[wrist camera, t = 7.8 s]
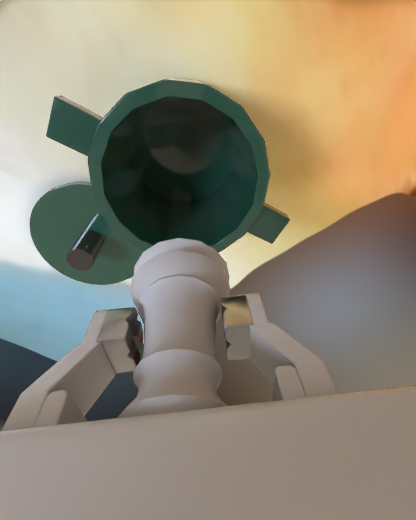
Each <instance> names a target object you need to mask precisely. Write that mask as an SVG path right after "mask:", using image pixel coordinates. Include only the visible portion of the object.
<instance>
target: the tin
mask: <svg viewBox="0 0 416 520" xmlns="http://www.w3.org/2000/svg"><path fill="white" fill-rule="evenodd" d="M46 136H47V137H49V138H51V139H53V140H55V141H57V142H59V143H61V144H63V145H65V146H67V147H70V148H72V149H74V150H76V151H78V152H80V153H82V154H84V155H86V156H89V157H88V165H89V173H90V180H91V188H92V195H93V198H94V200H95V201H96V203H97V205H98V207H99V208H100V210H101V212H102V214H103V215H104V217H105V219H106V221H107V223H108V224H109V225H110V226H111V227H112V228H113V229H114V230H115V231H116V232H118V233H119V234H120V235H121V236H122V237H123V238H125V239H126V240H127V241H128V242H129V243H130V244H132V245H133V246H134V247H136V248H139V249H141V250H144V251H146V250H147V249H149V248H151V247H152V246H154V245H155V244H157V243H158V242H162V241H166V240H171V239H176V238H183V239H190V240H197V241H200V242H202V243H204V244H206V245H208V246H210V247H212V248H213V249H215V250H216V251H217V252H220V251H222V250H224V249H225V248H227V247H228V246H229V245H231V244H232V243H234V242H235V241H236V240H238V239H239V238H241V237H242V236H244V235H245V234H246V232H248V233H250V234H253V235H255V236H257V237H259V238H261V239H263V240H265V241H267V242H269V243H273V242H274V241H275V239H276V238H277V237H278V235H279V234H280V233H281V231H282V230H283V229H284V227H285V226H286V225H287V223H288V222H289V221H290V218H289V217H288V216H287V214H285V213H283V212H282V211H280V210H278V209H276V208H274V207H272V206H270V205H268V204H266V203H264V201H265V197H266V192H267V188H268V183H269V179H270V170H269V165H268V159H267V153H266V147H265V141H264V139H263V137H262V136H261V134H260V133H259V131H258V130H257V128H256V126H255V125H254V123H253V122H252V120H251V119H250V117H249V116H248V114H247V113H246V111H245V110H244V108H243V107H242V106H241V105H239V104H238V103H236V102H235V101H233V100H231V99H230V98H228V97H227V96H225V95H224V94H222V93H220V92H219V91H217V90H216V89H214V88H213V87H211V86H209V85H208V84H206V83H204V82H202V81H198V80H189V79H181V78H169V79H164V80H161V81H158V82H156V83H153V84H150V85H147V86H145V87H142V88H139V89H137V90H134V91H131V92H128V93H126V94H125V95H124V96H123V97H122V98H121V99H120V100H119V101H118V102H117V103H116V105H115V106H114V107H113V108H112V109H111V110H110V111H109V112H108V113H107V114H106V115H105V117H104V118H103V117H101V116H99V115H97V114H95V113H93V112H91V111H90V110H88V109H86V108H84V107H82V106H80V105H78V104H76V103H74V102H72V101H71V100H69V99H67V98H65V97H63V96H55V97H54V101H53V105H52V110H51V115H50V120H49V125H48V130H47V134H46Z"/></svg>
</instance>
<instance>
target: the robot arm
mask: <svg viewBox="0 0 416 520" xmlns="http://www.w3.org/2000/svg"><path fill="white" fill-rule="evenodd" d="M221 308H222V318H223V328H224V335H225V342H226V349H227V356H228V360H237V359H248V358H250V360H251V361H252V362H253V363H254V364H255V365H256V366H257V368H258V369H259V370H260V371H261V372H262V373H263V374H264V375H265V376H266V378H267V379H268V380H269V381H270V382H271V383H272V384H273V385H274V391H273V401H269V402H260V403H251V404H242V405H233V406H224V407H215V408H206V409H197V410H188V411H180V412H170V413H161V414H152V415H143V416H134V417H125V418H116V419H106V420H97V421H88V422H87V420H86V419H85V417H84V416H85V414H86V413H87V412H88V411H89V409H90V408H91V407H92V405H93V404H94V402H95V401H96V400H97V399H98V397H99V396H100V395H101V393H102V392H103V391H104V389H105V388H106V387H107V385H108V384H109V383H110V382H111V380H112V379H113V378H114V376H115V375H116V374H115V373H122V372H130V371H134V369H135V368H136V366H137V365H138V364H139V360H140V353H139V348H141V346H142V343H143V330H142V325H141V322H139V321H138V320H137V316H138V313H137V311H136V308H134V307H133V308H122V309H111V310H103V311H96V312H95V313H94V314H93V317H92V319H91V322H90V324H89V327H88V329H87V332H86V334H85V337H84V339H83V342H82V344H78V345H76V346H75V347H74V348H73V349H72V350H71V351H70V352H68V353H67V354H66V355H65V356H64V357H63V358H62V359H60V360H59V361H58V362H57V363H56V364H55V365H53V367H51V368H50V369H49V370H48V371H47V372H46V373H44V374H43V375H42V376H41V377H40V378H38V379H37V380H36V381H35V382H34V383H33V384H32V385H30V386H29V387H28V388H27V389H26V390H25V391H24V392H22V393H21V395H20V397H19V398H18V400H17V402H16V404H15V406H14V408H13V410H12V412H11V413H10V415H9V417H8V419H7V421H6V423H5V425H4V427H3V429H2V430H1V431H0V520H416V385H414V386H405V387H395V388H387V389H378V390H368V391H359V392H351V393H341V394H339V393H338V391H337V389H336V387H335V385H334V383H333V380H332V378H331V376H330V374H329V372H328V370H327V368H326V366H325V363H324V361H323V360H322V359H320V358H319V357H318V356H316V355H315V354H314V353H312V352H311V351H310V350H308V349H307V348H306V347H304V346H303V345H302V344H300V343H299V342H298V341H296V340H295V339H294V338H292V337H291V336H290V335H288V334H287V333H286V332H284V331H283V330H282V329H280V328H279V327H278V326H276V325H275V324H274V323H269V322H268V319H267V317H266V313H265V311H264V307H263V304H262V301H261V298H260V295H259V294H258V293H252V294H245V295H238V296H229V297H221Z"/></svg>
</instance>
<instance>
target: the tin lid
mask: <svg viewBox="0 0 416 520" xmlns="http://www.w3.org/2000/svg"><path fill="white" fill-rule="evenodd" d="M30 232H31V236H32V239H33V242H34V244H35V246H36V248H37V250H38V251H39V253H40V254H41V256H42V257H43V258H44V259H45V260H46V261H47V262H48V263H49V264H50V265H51V266H52V267H53V268H55V269H56V270H57V271H59V272H60V273H62V274H64V275H66V276H68V277H70V278H72V279H75V280H77V281H80V282H84V283H89V284H97V285H106V284H113V283H118V282H121V281H124V280H126V279H128V278H130V277H131V276H133V275H134V266H135V265H136V263H137V261H138V260H139V258H140V257H141V255H142V253H143V252H144V250H141V249H139V248H136V247H134V246H133V245H132V244H130V243H129V242H128V241H127V240H126V239H125V238H123V237H122V236H121V235H120V234H119V233H118V232H116V231H115V230H114V229H113V228H112V227H111V226H110V225H109V224H108V223H107V221H106V219H105V217H104V215H103V214H102V212H101V210H100V208H99V207H98V205H97V203H96V201H95V200H94V198H93V195H92V188H91V183H82V182H76V183H68V184H64V185H60V186H58V187H55V188H53V189H52V190H50V191H48V192H47V193H46V194H45V195H43V196H42V197H41V198H40V199H39V200H38V202H37V203H36V204H35V206H34V208H33V210H32V214H31V218H30Z"/></svg>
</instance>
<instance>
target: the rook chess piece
mask: <svg viewBox="0 0 416 520" xmlns="http://www.w3.org/2000/svg"><path fill="white" fill-rule="evenodd" d="M228 281H229V273H228V269H227V264H226V262H225V261H224V259H223V258H222V257H221V256H220V254H219V253H218V252H217V251H216V250H215V249H213V248H212V247H210V246H208V245H206V244H204V243H202V242H200V241H197V240H190V239H183V238H176V239H171V240H166V241H162V242H158V243H157V244H155V245H154V246H152V247H151V248H149V249H147V250H146V251H144V252H143V253H142V255H141V257H140V258H139V260H138V261H137V263H136V265H135V266H134V278H133V280H132V298H133V302H134V304H135V306H136V308H137V310H138V313H139V315H140V317H141V319H142V321H143V323H144V353H143V359H142V360H141V361H140V363H139V364H138V365H137V366H136V368H135V369H134V374H133V381H134V383H135V384H136V386H137V388H138V389H139V391H138V394H137V397H136V398H135V400H133V402H131V403H130V404H129V405H128V406H127V408H125V410H124V411H123V412H122V413H121V414H120V415H119V416H118V418H125V417H134V416H143V415H152V414H161V413H170V412H180V411H188V410H197V409H206V408H215V407H224V406H227V405H226V404H225V403H224V402H223V401H222V400H221V399H220V398H219V397H218V396H217V388H218V386H219V385H220V382H221V380H222V377H223V374H222V370H221V367H220V365H219V364H218V363H217V362H216V361H215V353H214V344H215V330H216V323H217V322H218V321H219V319H220V316H221V313H222V308H221V297H229V293H230V286H229V282H228Z"/></svg>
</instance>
